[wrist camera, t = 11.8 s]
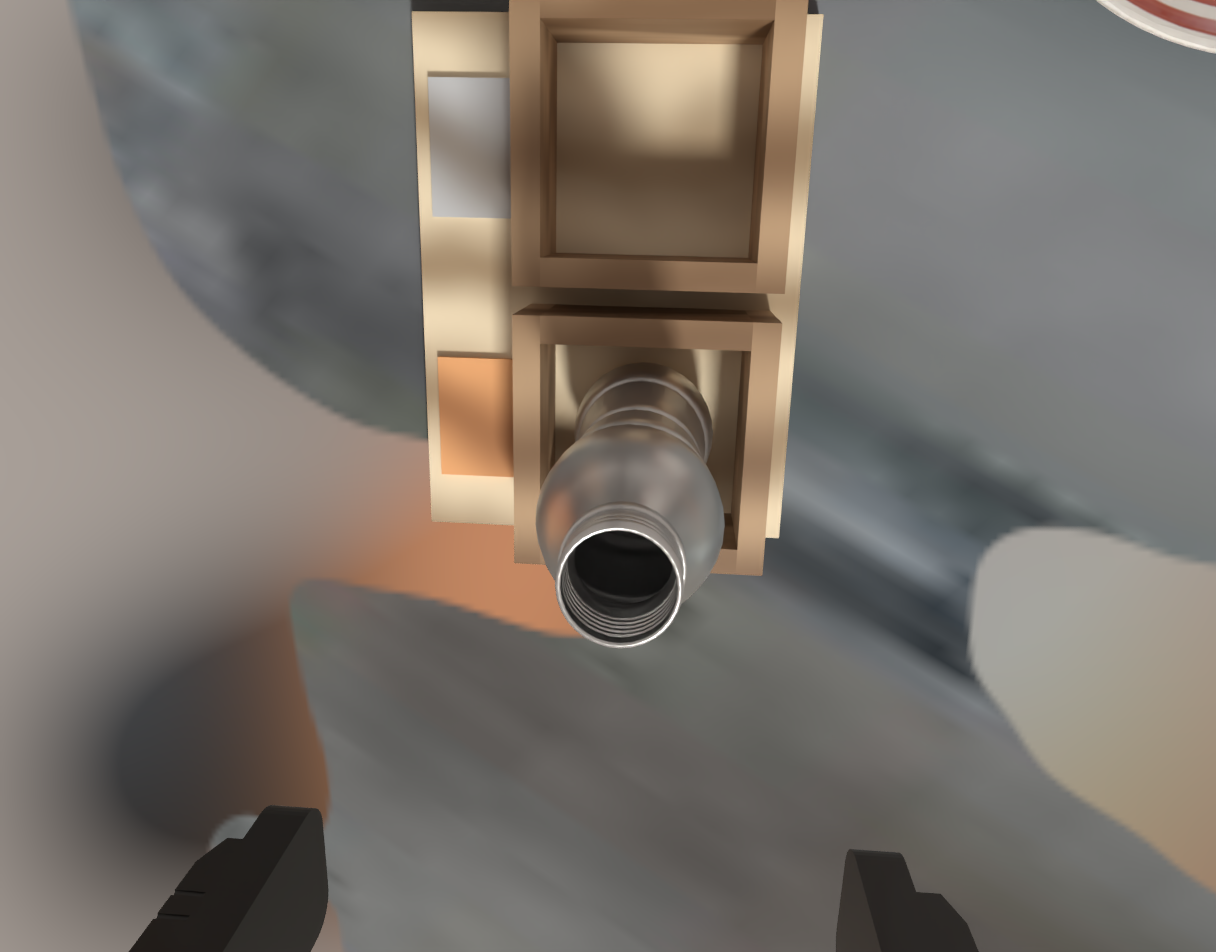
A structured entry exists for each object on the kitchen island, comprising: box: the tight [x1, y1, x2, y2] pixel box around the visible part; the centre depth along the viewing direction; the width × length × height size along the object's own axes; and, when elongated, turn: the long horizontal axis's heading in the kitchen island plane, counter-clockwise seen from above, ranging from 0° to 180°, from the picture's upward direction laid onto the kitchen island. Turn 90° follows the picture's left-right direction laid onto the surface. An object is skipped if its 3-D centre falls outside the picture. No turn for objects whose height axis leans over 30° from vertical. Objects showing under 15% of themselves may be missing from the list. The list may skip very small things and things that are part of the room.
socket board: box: [412, 0, 823, 576], centre depth 39 cm, size 24×18×6 cm
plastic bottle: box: [535, 362, 725, 648], centre depth 33 cm, size 6×7×20 cm
